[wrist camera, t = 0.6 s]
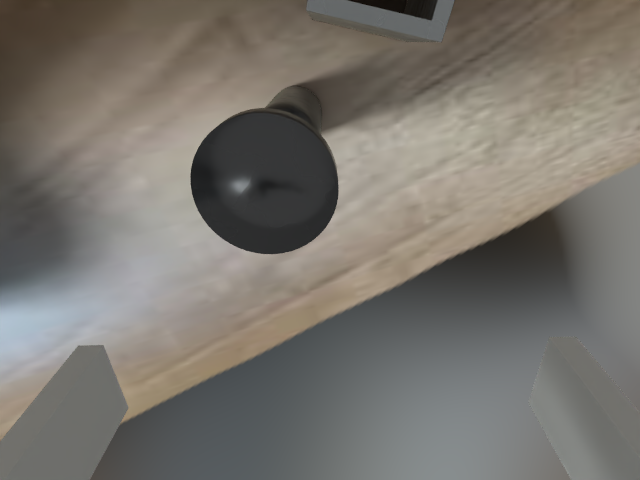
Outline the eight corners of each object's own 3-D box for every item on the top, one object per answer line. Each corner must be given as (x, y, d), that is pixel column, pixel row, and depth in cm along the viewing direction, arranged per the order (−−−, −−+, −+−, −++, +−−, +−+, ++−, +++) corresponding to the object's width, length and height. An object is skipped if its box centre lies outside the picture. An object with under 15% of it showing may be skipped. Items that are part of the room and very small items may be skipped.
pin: (256, 141, 31) (187, 240, 15) (265, 67, 28) (194, 97, 13) (324, 155, 31) (321, 264, 16) (339, 83, 29) (354, 131, 13)
